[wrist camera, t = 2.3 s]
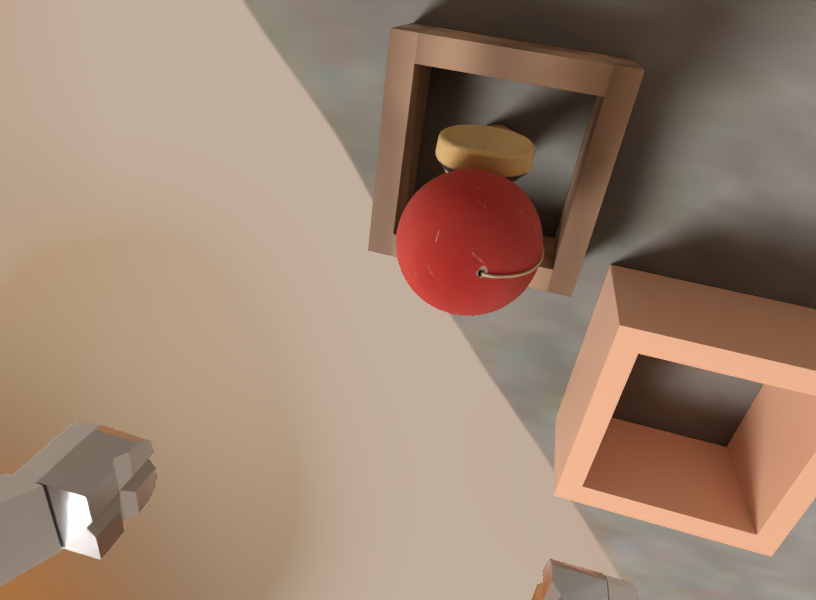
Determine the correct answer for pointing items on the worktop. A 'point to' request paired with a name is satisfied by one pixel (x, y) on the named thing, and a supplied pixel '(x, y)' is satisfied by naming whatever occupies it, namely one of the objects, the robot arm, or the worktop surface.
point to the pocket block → (512, 61)
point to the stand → (682, 456)
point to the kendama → (472, 223)
